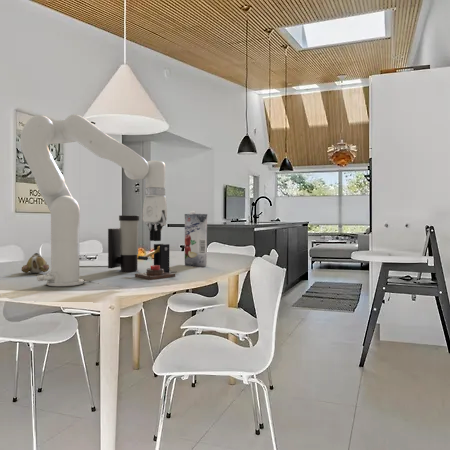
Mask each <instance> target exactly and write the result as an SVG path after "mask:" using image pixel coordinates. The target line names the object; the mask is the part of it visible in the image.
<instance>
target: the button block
mask: <svg viewBox="0 0 450 450" xmlns="http://www.w3.org/2000/svg"><path fill="white" fill-rule="evenodd" d="M146 272H147V273H146ZM146 272H142V273H141V272H140V273H135V274H134V278H138V279H141V280H149V281H154V280H160V279H169V278H176V273H168V272H164V269H162V268H160V270H151V267H150V268H147V269H146Z"/></svg>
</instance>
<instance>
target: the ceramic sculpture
mask: <svg viewBox="0 0 450 450" xmlns="http://www.w3.org/2000/svg"><path fill="white" fill-rule="evenodd" d="M49 269H50V266H49V264H48V262H47V261H46V259H45V258H44V257H43V256H42V255H41V254H40V253H37V252H35V253H34V254H32V255H31V257H29V259H28V260H27V262H26V264H24V265H22V266H21V272H22V273H24V274H27V273H29V272H30V273H31V274H40V273H41V272H43V273H46V272H49Z"/></svg>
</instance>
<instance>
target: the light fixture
mask: <svg viewBox="0 0 450 450" xmlns="http://www.w3.org/2000/svg"><path fill="white" fill-rule="evenodd" d="M118 221H119V227H114V228H107V268H108V269H114V268H119V267H120V270H119V272H120V273H139V272H140V270H139V269H138V256H139V221H140V215H131V214H130V215H129V214H128V215H118Z"/></svg>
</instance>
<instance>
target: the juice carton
mask: <svg viewBox="0 0 450 450" xmlns="http://www.w3.org/2000/svg"><path fill="white" fill-rule="evenodd" d="M207 257H208V213H196V210H191V211H189V213H184V266H185V267H194V268H202V267H207V264H208V263H207V261H208V258H207Z"/></svg>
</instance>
